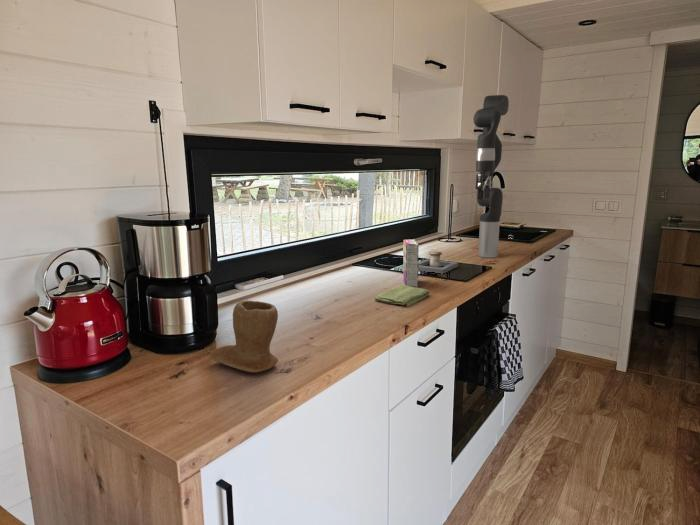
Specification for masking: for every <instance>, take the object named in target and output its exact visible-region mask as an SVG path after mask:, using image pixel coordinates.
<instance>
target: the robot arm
mask: <svg viewBox="0 0 700 525" xmlns="http://www.w3.org/2000/svg"><path fill="white" fill-rule="evenodd" d="M508 97H509V96H507V95H505V94H498V95H497V94H496V95H495V94H494V95H493V94H492V95H491V94H490V95H486V96H485V97H484V99H483V107H482V108H479V109H478V110H476V112H475V113H474V115H473V123H474V126H475V127H476V128H481V129H482V128H483V129H482V133H481V134H479V135H478V136H477V142H476V143H477V144H476V147H477V149H476V154H475V155H476V156H475V171H476V172H479V174H477V173H476V175H475V176H476V178H475V189H476V190H477V193H476V201H477V205H478V206H480V207H484V208H488V207H489V208H488V209H489V210H488V211H487V212H486V213H483V214H480V216H479V234H478V253H477V254H478V257H481V258H488V259H489V258H498V256H499V241H500V238H499V237H500V224H501V223H500V219H501V215H502V207H503V201H504V200H503V199H504V198H503V197H504V195H503V190H502V189H501V188H500V187H493V186H494V183H493V180H494V178H493V176H494V172H495V170H497V168H498V167H499V164H500V162H501V161H502V154H503V153H502V152H503V145H502V141H501V139H500V138H499V136H498V134H497V131H498V128H499V125H500V122H501V118H502V116H505V115H507V113H508V111H509V106H510V105H509V104H510V100H509V98H508Z"/></svg>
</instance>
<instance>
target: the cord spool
mask: <svg viewBox="0 0 700 525" xmlns="http://www.w3.org/2000/svg"><path fill="white" fill-rule="evenodd" d="M442 254H443V252H441V251H429V252H428V255H429V259H430V265H428V266H429V267H438V268H442V267H441V266H440V261H441V255H442Z"/></svg>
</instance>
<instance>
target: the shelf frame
mask: <svg viewBox="0 0 700 525" xmlns="http://www.w3.org/2000/svg"><path fill="white" fill-rule="evenodd" d="M428 264H429V265H428ZM425 265H427V266H425ZM429 266H430V258H426V259H424V260H421V261H418V272H419V271H425V272H424V273H427V272H435V273H441V274H440V275H444V274H443V273H445V274H446V272H447V273H449V272H450V270H451V271H453V270H455V269H456V268H458V267H459V262H457V261H448V260H440V267H441V266H444V267H441V268H438V267H429ZM454 268H455V269H454ZM452 269H453V270H452ZM448 271H449V272H448ZM435 273H434V274H435Z"/></svg>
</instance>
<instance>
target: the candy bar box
mask: <svg viewBox="0 0 700 525" xmlns="http://www.w3.org/2000/svg"><path fill="white" fill-rule="evenodd" d="M402 251H403V253H402V254H403V259H402V260H403V267H402V268H403V270H402V272H403V281H404V285H407V286H410V287H414V288H416V287H417V288H419V271H418V263H419V243H418V241H417V240H416V239H414V238H413V239H410V238H409V239H403V250H402Z"/></svg>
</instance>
